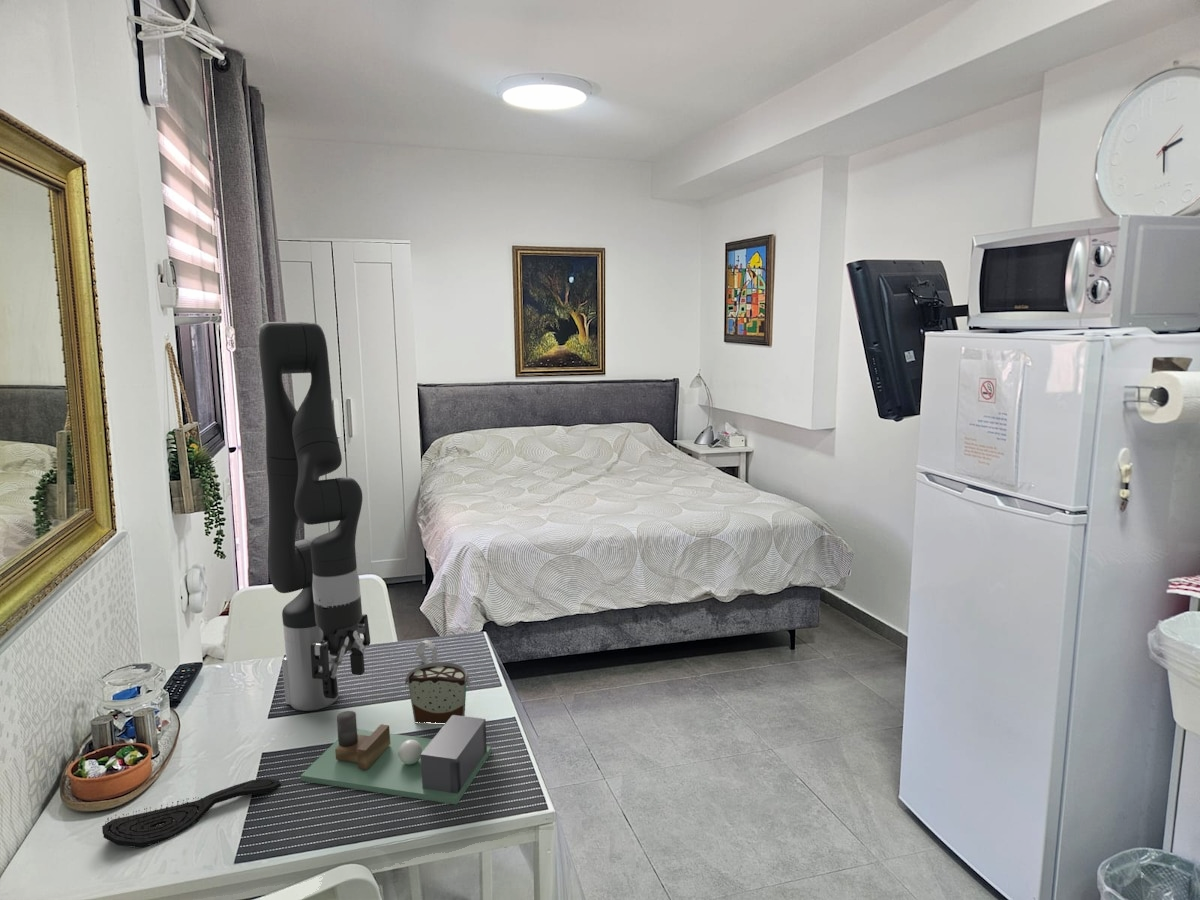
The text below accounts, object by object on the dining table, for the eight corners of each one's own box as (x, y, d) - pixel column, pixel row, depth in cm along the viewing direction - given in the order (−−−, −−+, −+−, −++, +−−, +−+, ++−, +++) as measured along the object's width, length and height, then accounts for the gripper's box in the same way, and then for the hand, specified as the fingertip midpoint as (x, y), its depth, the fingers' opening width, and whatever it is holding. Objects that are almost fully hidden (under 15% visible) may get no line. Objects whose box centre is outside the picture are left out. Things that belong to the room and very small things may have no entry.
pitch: (301, 780, 131) (300, 775, 131) (349, 733, 145) (349, 728, 145) (456, 804, 124) (456, 798, 124) (491, 751, 139) (491, 746, 138)
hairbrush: (286, 782, 127) (104, 838, 112) (287, 803, 127) (106, 862, 112) (272, 759, 133) (99, 809, 118) (273, 779, 134) (101, 832, 119)
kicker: (327, 764, 133) (324, 726, 132) (353, 738, 141) (350, 703, 140) (367, 769, 132) (364, 731, 130) (390, 743, 139) (387, 707, 138)
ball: (394, 767, 133) (393, 746, 132) (405, 754, 136) (404, 733, 136) (416, 770, 132) (414, 749, 131) (426, 757, 135) (425, 736, 135)
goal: (422, 788, 127) (420, 754, 126) (454, 746, 139) (452, 714, 138) (458, 793, 125) (456, 759, 124) (486, 750, 137) (485, 718, 136)
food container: (478, 709, 153) (476, 661, 151) (470, 725, 147) (468, 676, 145) (417, 706, 154) (415, 659, 153) (407, 723, 148) (404, 674, 147)
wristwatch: (425, 657, 176) (423, 636, 175) (440, 663, 173) (439, 642, 172) (415, 662, 173) (413, 641, 172) (430, 668, 170) (429, 647, 169)
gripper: (340, 579, 139) (347, 665, 142) (291, 610, 125) (301, 703, 128) (378, 582, 137) (385, 668, 140) (333, 613, 124) (342, 708, 127)
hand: (345, 685), depth 134 cm, fingers open, 8 cm apart
